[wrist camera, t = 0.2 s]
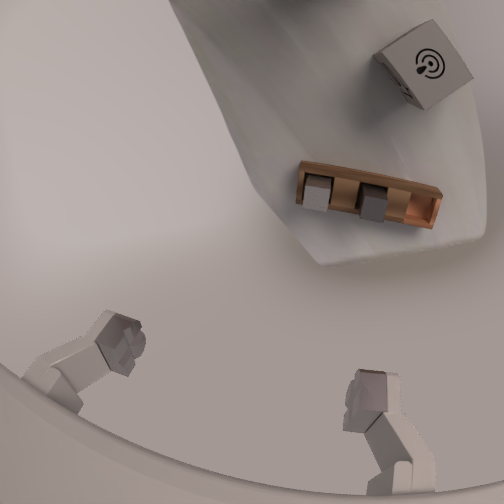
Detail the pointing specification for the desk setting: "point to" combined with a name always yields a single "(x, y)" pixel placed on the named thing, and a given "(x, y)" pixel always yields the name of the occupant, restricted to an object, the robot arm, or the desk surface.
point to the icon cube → (424, 65)
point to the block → (372, 202)
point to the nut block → (317, 192)
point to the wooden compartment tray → (397, 190)
